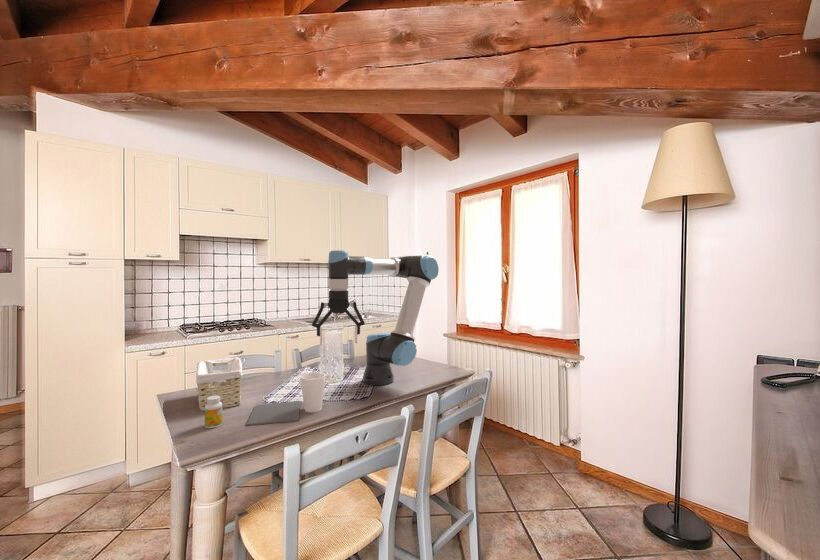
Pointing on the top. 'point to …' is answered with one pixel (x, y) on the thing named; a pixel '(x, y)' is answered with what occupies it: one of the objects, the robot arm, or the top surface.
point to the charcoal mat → (274, 413)
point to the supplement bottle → (213, 412)
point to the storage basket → (219, 382)
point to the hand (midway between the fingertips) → (338, 343)
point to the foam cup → (313, 390)
